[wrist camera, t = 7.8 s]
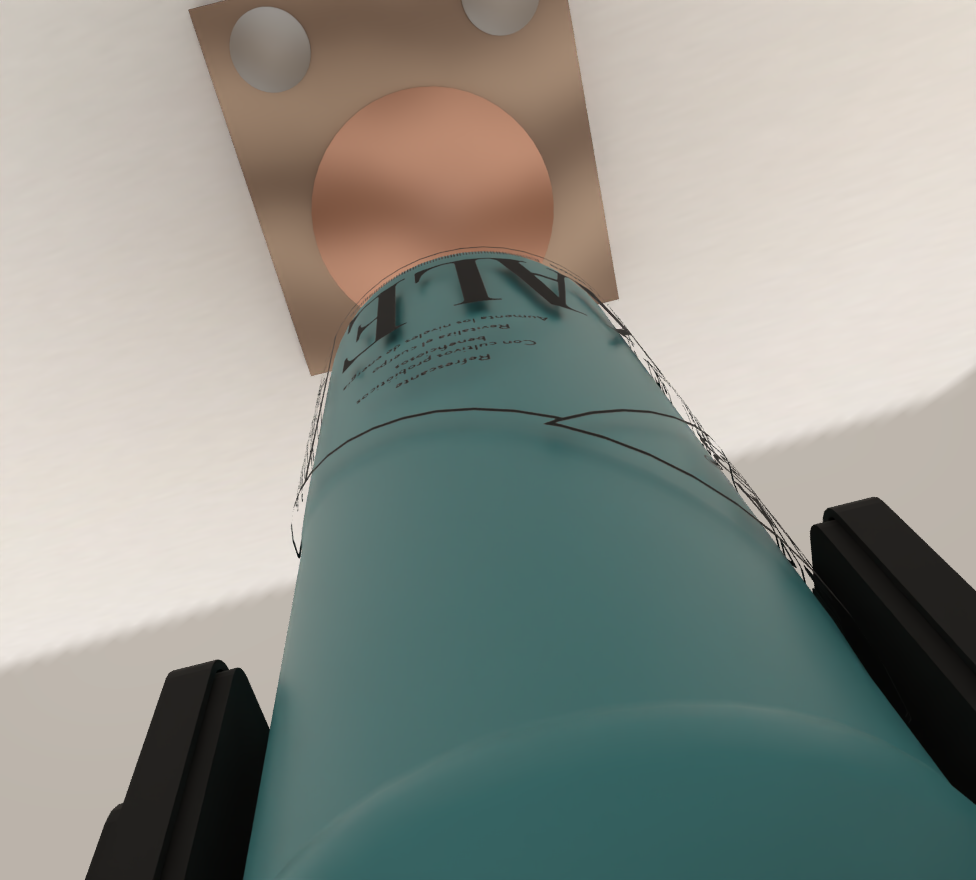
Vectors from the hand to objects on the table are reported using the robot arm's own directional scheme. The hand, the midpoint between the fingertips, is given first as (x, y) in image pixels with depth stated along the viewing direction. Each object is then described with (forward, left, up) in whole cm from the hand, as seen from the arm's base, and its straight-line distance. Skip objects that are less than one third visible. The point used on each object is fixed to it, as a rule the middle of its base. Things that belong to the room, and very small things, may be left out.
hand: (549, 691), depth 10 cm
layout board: (-2, 0, -32) cm, 32 cm away
